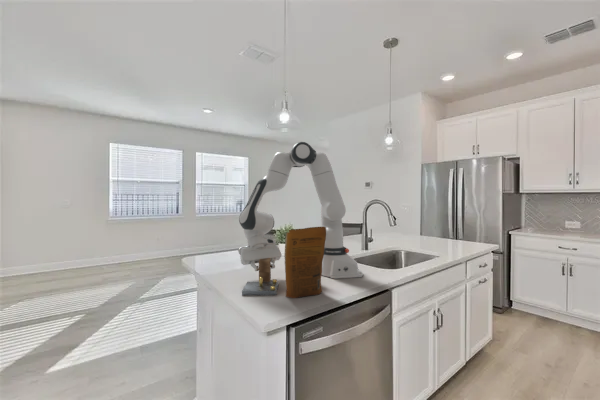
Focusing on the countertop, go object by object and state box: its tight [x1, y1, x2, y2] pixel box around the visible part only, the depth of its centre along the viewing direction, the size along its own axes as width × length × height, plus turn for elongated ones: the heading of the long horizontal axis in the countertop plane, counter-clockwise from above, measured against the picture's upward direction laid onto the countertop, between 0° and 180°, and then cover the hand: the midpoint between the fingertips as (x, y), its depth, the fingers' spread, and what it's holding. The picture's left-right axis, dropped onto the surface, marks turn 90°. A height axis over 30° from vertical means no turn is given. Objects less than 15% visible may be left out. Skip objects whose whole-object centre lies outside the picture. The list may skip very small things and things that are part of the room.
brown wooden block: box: [258, 258, 272, 282], centre depth 130 cm, size 5×5×10 cm
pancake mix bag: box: [284, 226, 326, 299], centre depth 112 cm, size 7×19×28 cm, turn 112°
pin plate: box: [241, 277, 279, 296], centre depth 118 cm, size 14×12×6 cm
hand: (265, 269), depth 130 cm, fingers closed on brown wooden block, 7 cm apart
